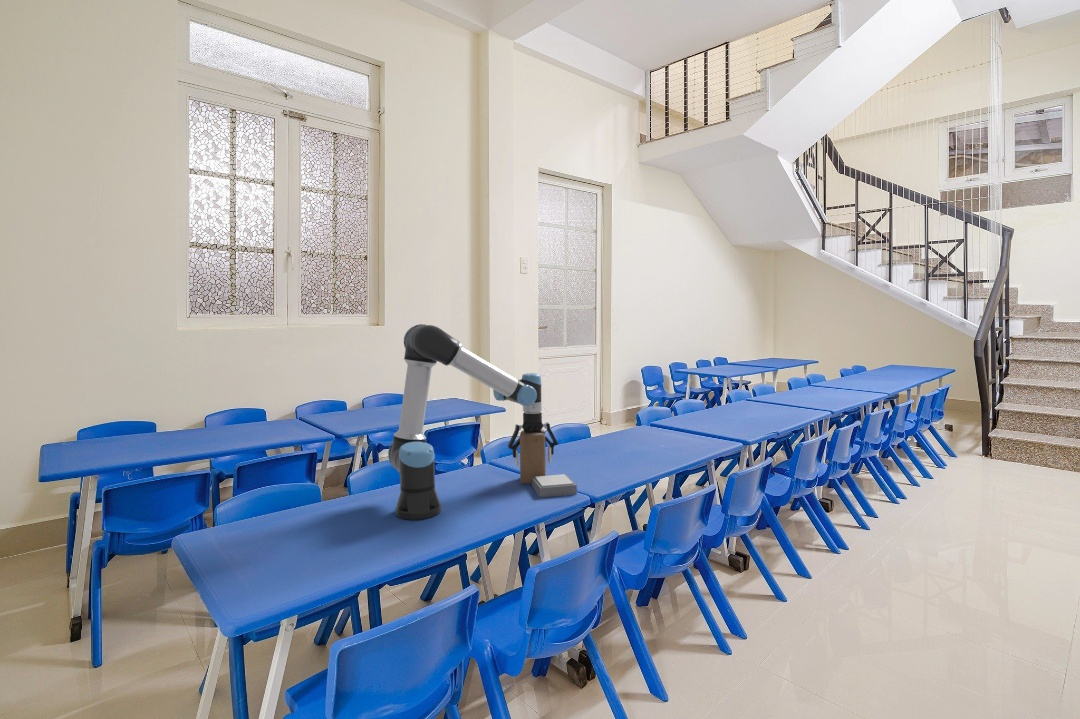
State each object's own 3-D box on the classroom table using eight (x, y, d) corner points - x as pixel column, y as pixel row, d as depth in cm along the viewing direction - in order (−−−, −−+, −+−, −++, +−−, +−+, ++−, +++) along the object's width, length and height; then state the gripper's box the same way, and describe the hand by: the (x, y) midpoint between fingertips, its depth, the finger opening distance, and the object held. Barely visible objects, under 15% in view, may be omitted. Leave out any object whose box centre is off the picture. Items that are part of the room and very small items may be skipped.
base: (540, 497, 211) (540, 486, 211) (532, 486, 225) (532, 476, 225) (576, 494, 214) (576, 483, 214) (566, 483, 228) (566, 473, 228)
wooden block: (545, 484, 227) (544, 434, 225) (520, 484, 227) (519, 434, 226) (545, 476, 237) (545, 429, 235) (521, 477, 237) (520, 429, 235)
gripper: (503, 415, 223) (504, 468, 225) (564, 411, 229) (565, 463, 231) (500, 412, 230) (501, 463, 232) (559, 408, 236) (560, 459, 238)
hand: (533, 464), depth 232 cm, fingers open, 13 cm apart
